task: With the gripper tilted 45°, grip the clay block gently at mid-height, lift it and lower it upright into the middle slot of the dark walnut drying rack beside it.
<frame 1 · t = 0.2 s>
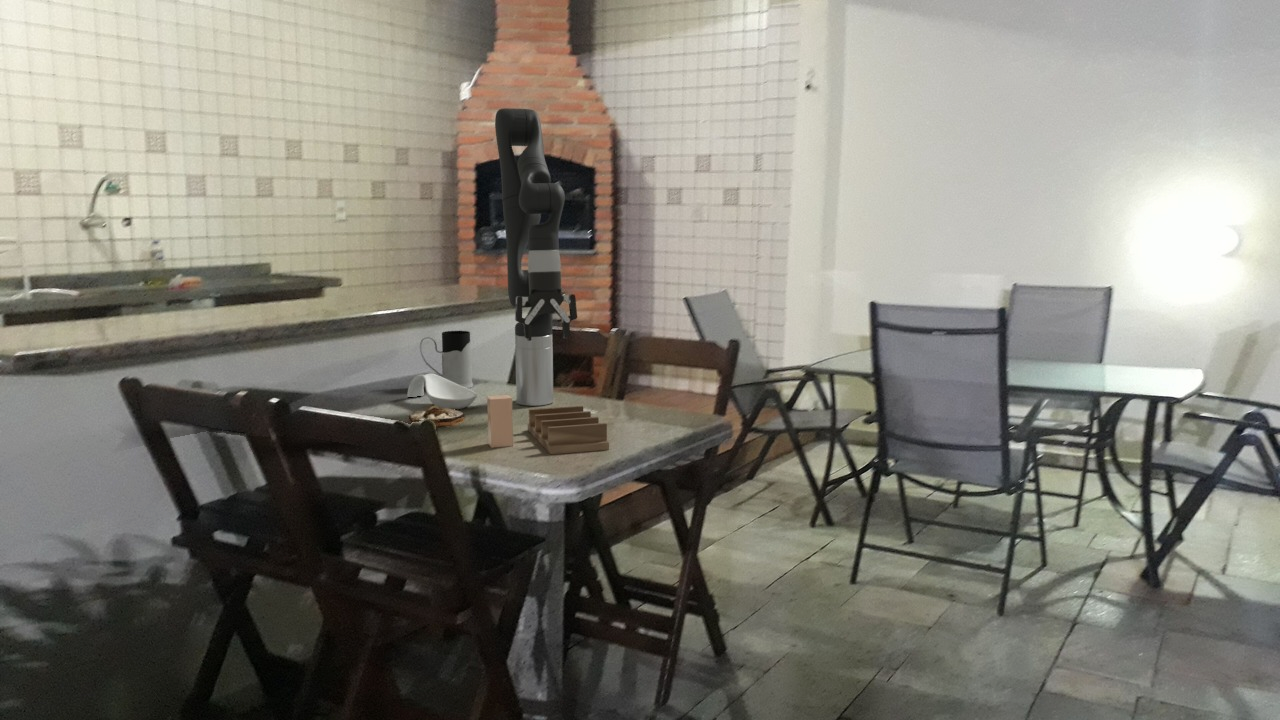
hand: (547, 339, 220), 18 cm above the table, tool pointing down, fingers open, 8 cm apart
clay block: (500, 444, 194), on the table
spoon rest: (439, 405, 235), on the table
walnut rack: (566, 439, 198), on the table
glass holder: (447, 387, 258), on the table
pie: (436, 424, 215), on the table
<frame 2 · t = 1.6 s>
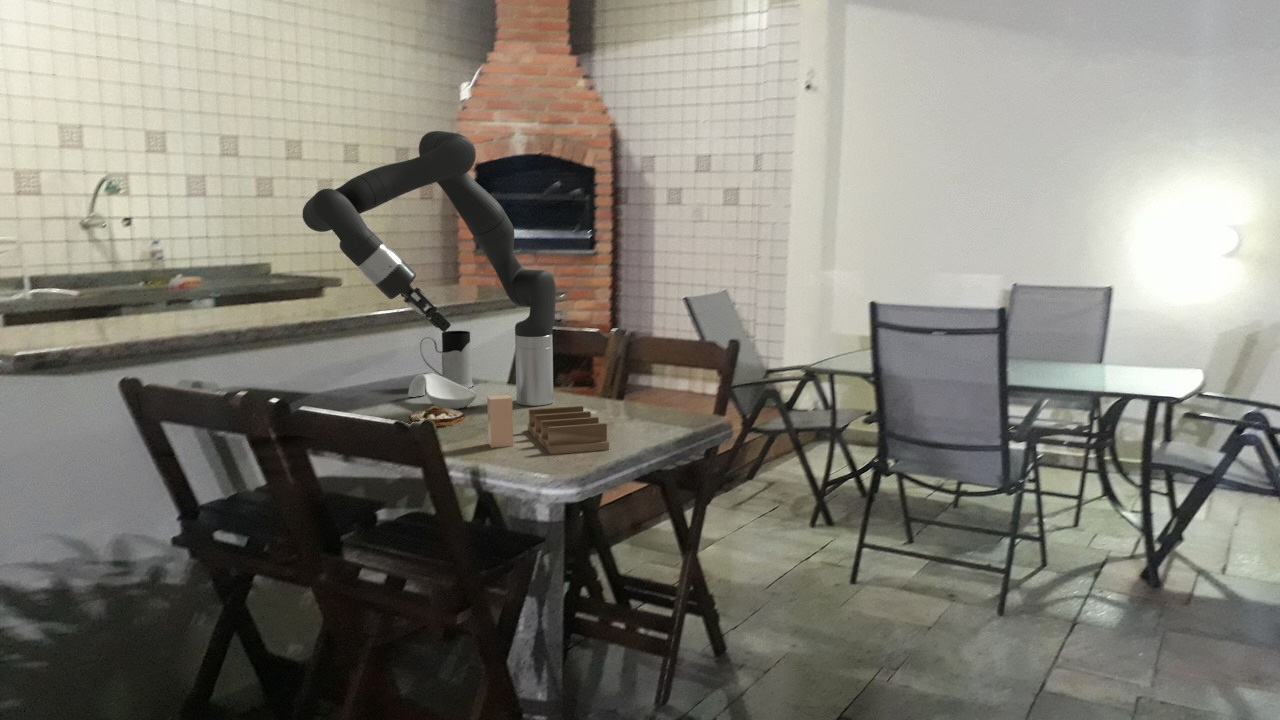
hand: (444, 326, 196), 24 cm above the table, tool tilted 45°, fingers open, 8 cm apart
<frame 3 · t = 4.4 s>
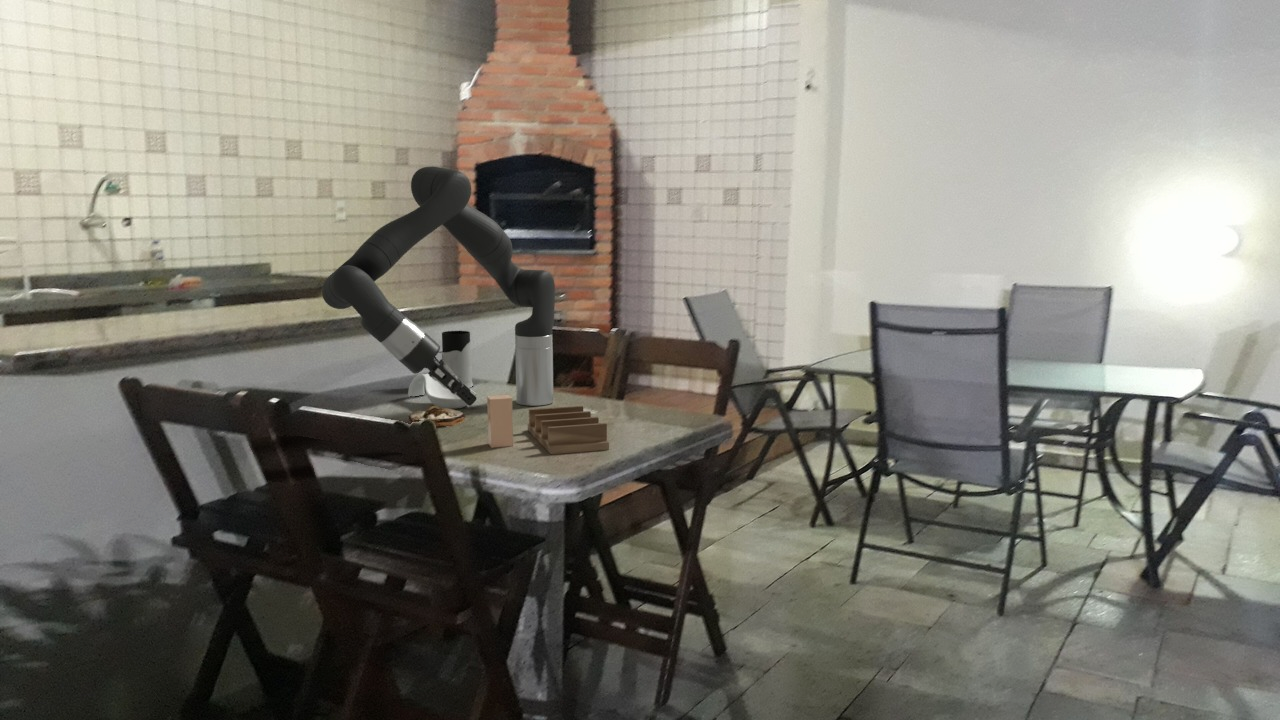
hand: (470, 398, 190), 10 cm above the table, tool tilted 45°, fingers open, 8 cm apart
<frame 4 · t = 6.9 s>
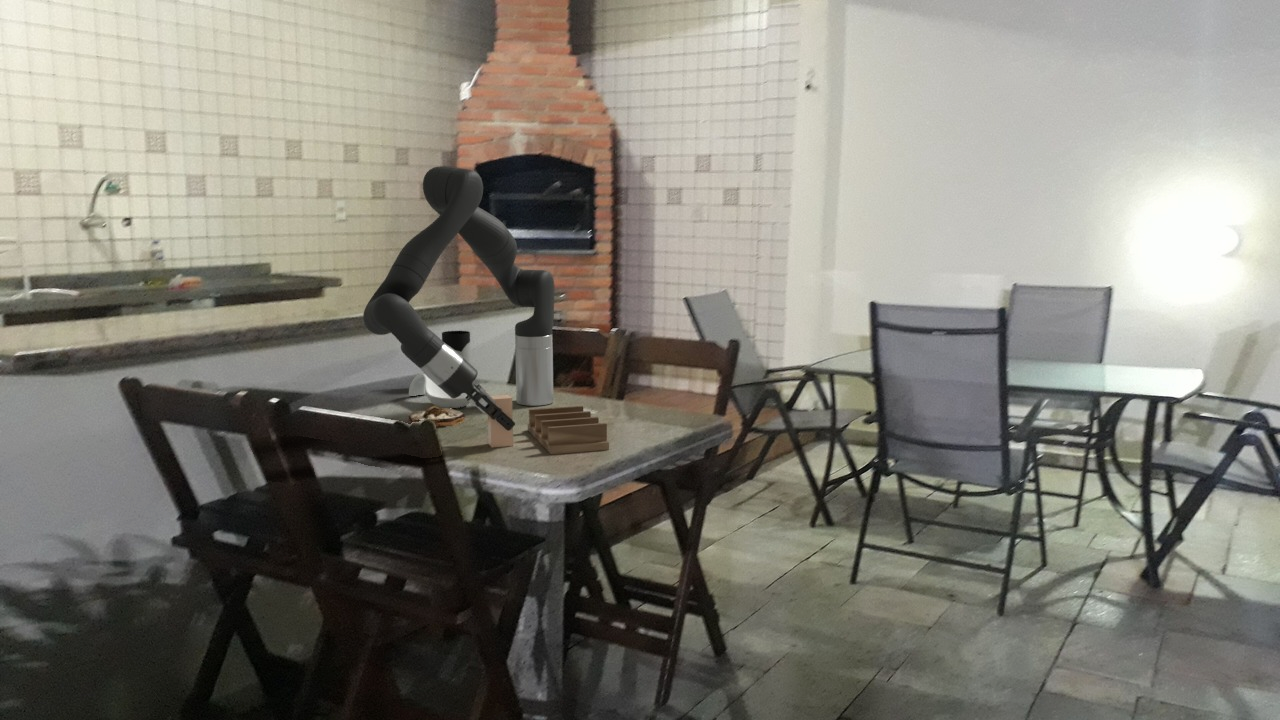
hand: (509, 424, 194), 4 cm above the table, tool tilted 45°, fingers closed on clay block, 3 cm apart
clay block: (500, 444, 194), on the table, touching gripper
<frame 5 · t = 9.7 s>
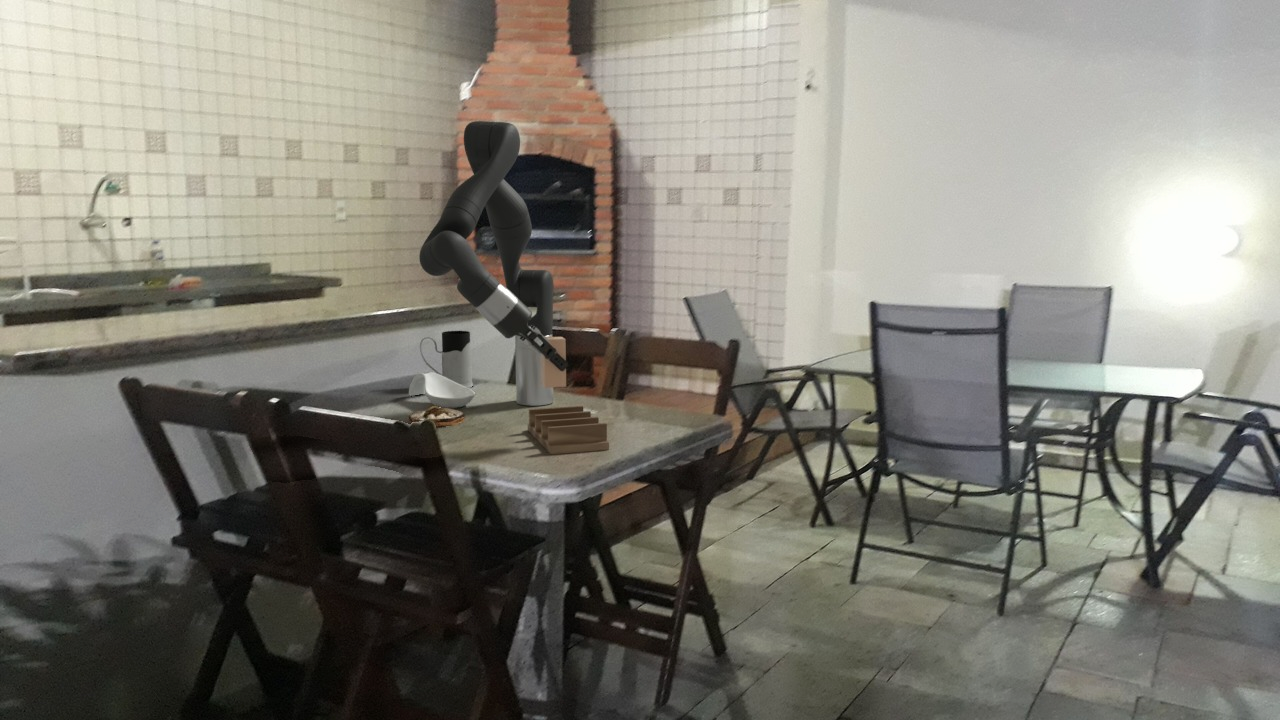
hand: (562, 366, 196), 16 cm above the table, tool tilted 45°, fingers closed on clay block, 3 cm apart
clay block: (553, 385, 196), point 12 cm above the table, touching gripper
when the fingers open (6 cm above the table, at t = 12.6 s): clay block stays where it is, resting on walnut rack.
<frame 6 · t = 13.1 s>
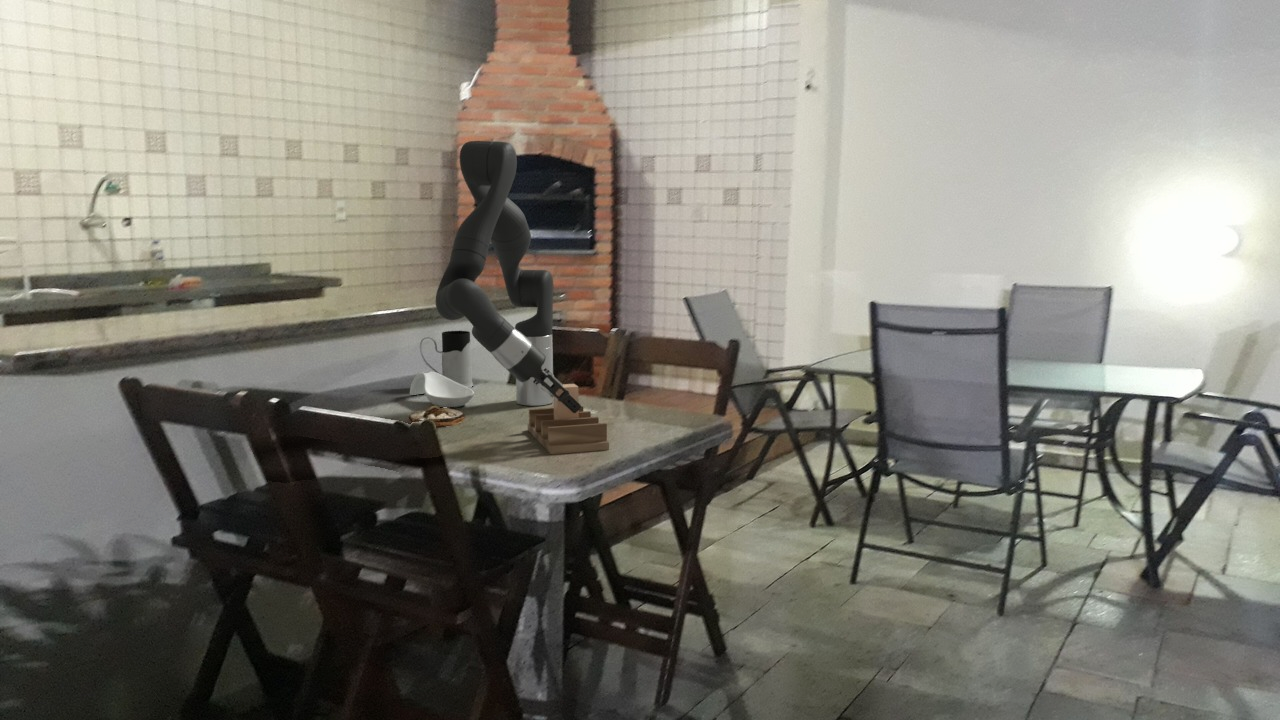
hand: (572, 406, 197), 7 cm above the table, tool tilted 45°, fingers open, 8 cm apart
clay block: (566, 432, 198), point 1 cm above the table, touching walnut rack
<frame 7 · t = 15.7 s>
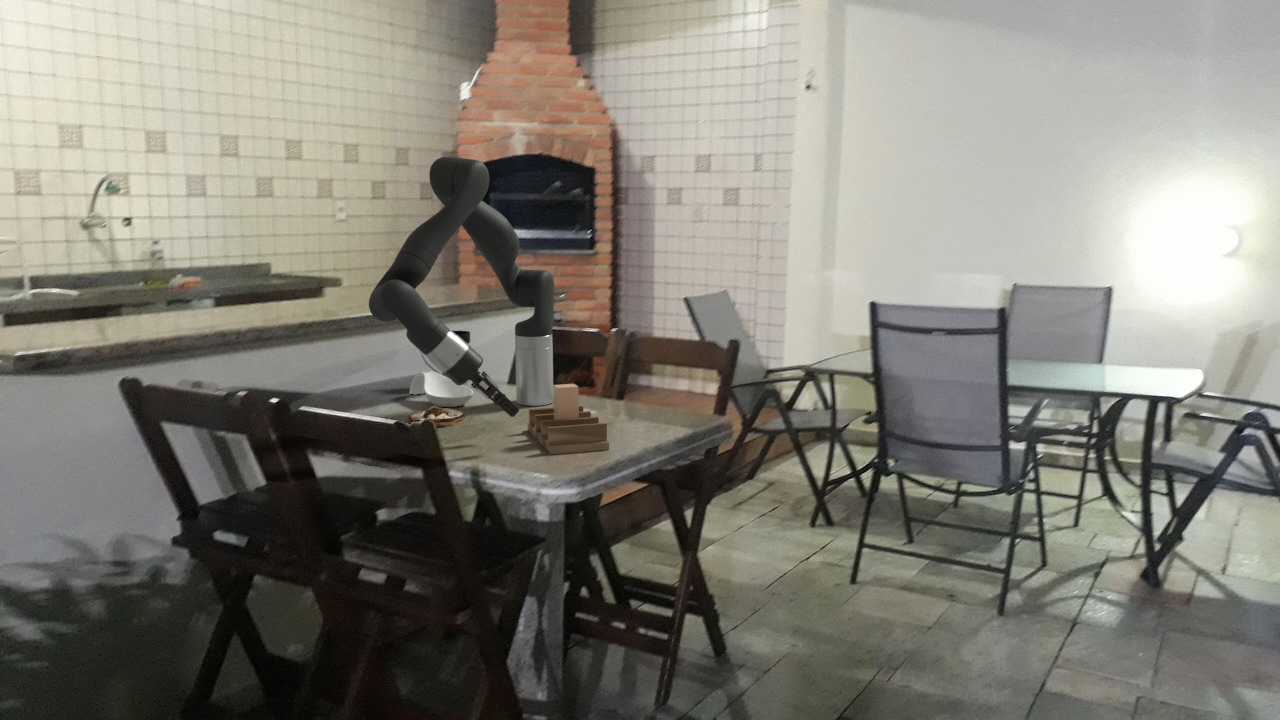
hand: (511, 409, 193), 7 cm above the table, tool tilted 45°, fingers open, 8 cm apart
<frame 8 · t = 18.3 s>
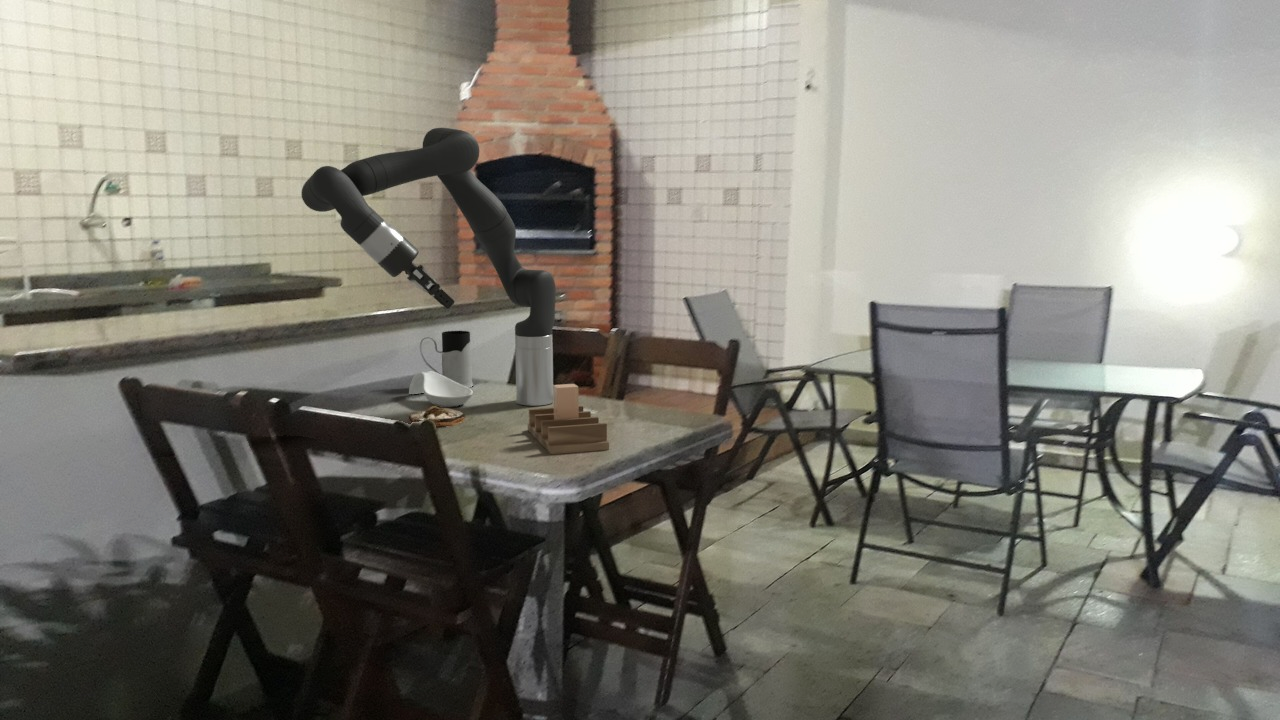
hand: (448, 303, 194), 29 cm above the table, tool tilted 45°, fingers open, 8 cm apart
at the end: clay block inside the target area on the walnut rack (0.1 cm from its centre), point 1.5 cm above the walnut rack's base; clay block tilted 0°; the gripper is holding nothing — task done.
